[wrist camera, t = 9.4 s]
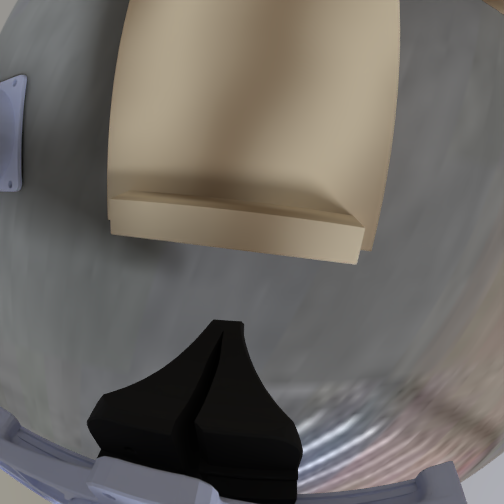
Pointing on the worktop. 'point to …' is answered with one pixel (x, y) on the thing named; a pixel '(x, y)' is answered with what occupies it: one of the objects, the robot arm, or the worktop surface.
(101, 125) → the worktop surface
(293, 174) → the lid
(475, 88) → the worktop surface
